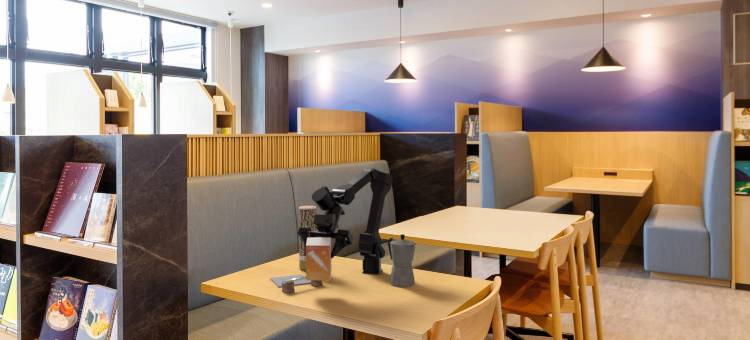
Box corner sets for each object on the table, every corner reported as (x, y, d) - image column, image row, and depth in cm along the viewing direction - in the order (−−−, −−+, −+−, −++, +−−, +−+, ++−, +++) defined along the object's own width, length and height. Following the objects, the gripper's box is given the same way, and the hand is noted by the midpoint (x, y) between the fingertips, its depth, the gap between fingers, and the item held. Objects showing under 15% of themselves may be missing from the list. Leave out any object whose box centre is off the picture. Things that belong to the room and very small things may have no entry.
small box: (306, 281, 178) (305, 245, 174) (308, 271, 184) (306, 237, 180) (331, 280, 179) (330, 245, 174) (331, 271, 185) (331, 236, 180)
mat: (301, 275, 206) (301, 274, 206) (311, 283, 195) (311, 282, 195) (270, 278, 201) (270, 277, 201) (278, 287, 190) (278, 286, 190)
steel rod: (320, 275, 195) (320, 272, 195) (321, 275, 194) (321, 273, 194) (282, 283, 184) (282, 281, 184) (283, 284, 183) (283, 281, 183)
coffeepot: (423, 285, 192) (424, 236, 191) (402, 290, 187) (403, 238, 186) (398, 276, 205) (398, 229, 204) (377, 279, 200) (378, 231, 199)
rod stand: (317, 283, 195) (317, 273, 195) (322, 284, 193) (322, 275, 193) (282, 291, 185) (281, 281, 185) (286, 293, 183) (286, 283, 183)
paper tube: (297, 267, 217) (296, 206, 215) (313, 266, 220) (312, 205, 218) (302, 271, 211) (301, 208, 209) (318, 270, 214) (318, 207, 212)
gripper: (299, 203, 186) (284, 241, 176) (349, 205, 180) (337, 245, 171) (309, 222, 194) (296, 259, 185) (358, 225, 188) (346, 263, 179)
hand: (318, 256), depth 179 cm, fingers closed on small box, 9 cm apart
